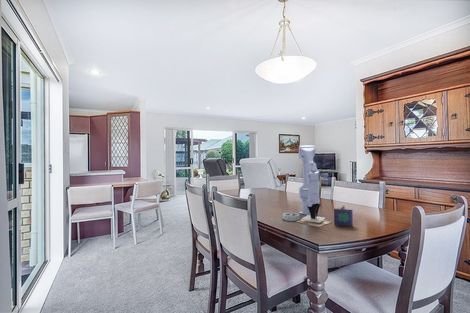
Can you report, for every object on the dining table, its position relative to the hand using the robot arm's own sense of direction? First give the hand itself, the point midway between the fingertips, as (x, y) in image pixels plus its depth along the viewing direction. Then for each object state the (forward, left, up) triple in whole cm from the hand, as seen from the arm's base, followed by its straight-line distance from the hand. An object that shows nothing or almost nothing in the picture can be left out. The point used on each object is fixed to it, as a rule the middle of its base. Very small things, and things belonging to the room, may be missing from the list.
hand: (314, 217), depth 141 cm
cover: (0, 0, -1) cm, 1 cm away
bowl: (+4, -13, -3) cm, 14 cm away
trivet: (0, 0, -3) cm, 3 cm away
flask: (-6, +14, -3) cm, 16 cm away
